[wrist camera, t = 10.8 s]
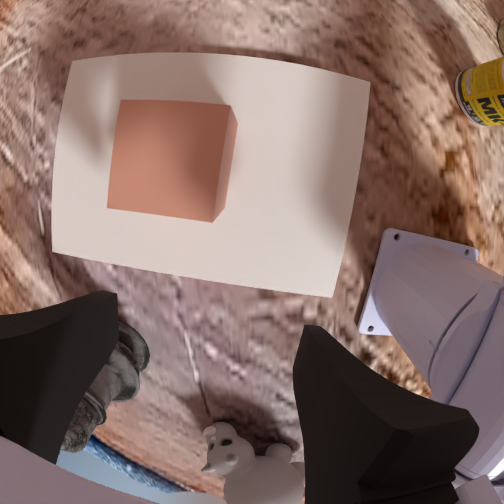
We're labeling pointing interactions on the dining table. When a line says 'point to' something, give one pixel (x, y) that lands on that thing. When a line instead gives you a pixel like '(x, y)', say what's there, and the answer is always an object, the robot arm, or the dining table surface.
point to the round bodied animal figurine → (253, 469)
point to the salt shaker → (108, 387)
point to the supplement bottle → (482, 92)
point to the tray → (241, 175)
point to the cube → (172, 158)
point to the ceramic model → (501, 36)
